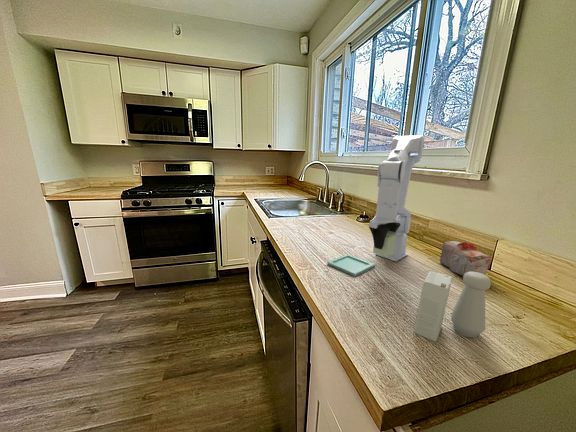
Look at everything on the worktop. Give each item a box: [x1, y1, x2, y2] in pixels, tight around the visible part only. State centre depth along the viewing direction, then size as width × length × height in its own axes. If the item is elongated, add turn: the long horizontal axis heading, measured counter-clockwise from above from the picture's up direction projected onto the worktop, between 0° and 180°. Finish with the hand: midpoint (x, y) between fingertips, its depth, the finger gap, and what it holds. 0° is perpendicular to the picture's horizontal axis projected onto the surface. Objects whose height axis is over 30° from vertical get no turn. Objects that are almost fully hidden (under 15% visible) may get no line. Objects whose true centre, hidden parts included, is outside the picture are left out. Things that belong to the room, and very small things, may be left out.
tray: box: [326, 253, 376, 278], centre depth 79 cm, size 11×11×1 cm
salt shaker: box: [450, 272, 492, 339], centre depth 48 cm, size 6×6×13 cm
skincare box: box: [413, 271, 453, 342], centre depth 48 cm, size 6×4×12 cm
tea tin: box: [372, 231, 397, 257], centre depth 72 cm, size 5×5×7 cm
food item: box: [439, 240, 492, 278], centre depth 75 cm, size 14×8×10 cm, turn 4°
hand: (382, 246), depth 73 cm, fingers closed on tea tin, 4 cm apart
